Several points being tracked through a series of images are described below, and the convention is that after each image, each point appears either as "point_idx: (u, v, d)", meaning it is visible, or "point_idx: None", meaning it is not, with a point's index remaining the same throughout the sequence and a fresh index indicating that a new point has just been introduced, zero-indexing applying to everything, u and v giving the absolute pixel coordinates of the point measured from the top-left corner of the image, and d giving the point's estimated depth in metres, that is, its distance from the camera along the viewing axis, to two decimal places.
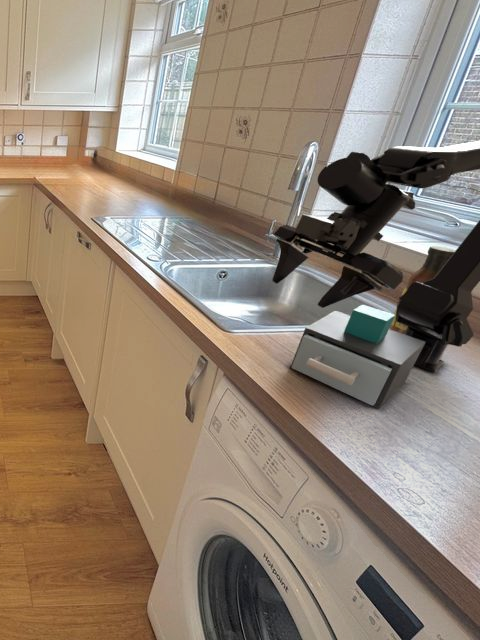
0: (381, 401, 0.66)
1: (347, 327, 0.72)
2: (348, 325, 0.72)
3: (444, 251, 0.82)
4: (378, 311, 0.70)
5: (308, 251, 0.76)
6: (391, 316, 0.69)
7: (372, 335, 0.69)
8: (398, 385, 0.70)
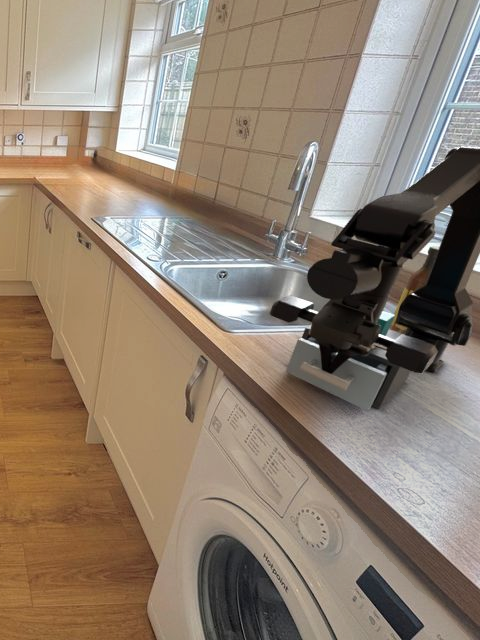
0: (381, 401, 0.66)
1: None
2: None
3: None
4: None
5: None
6: (391, 316, 0.69)
7: None
8: (398, 385, 0.70)
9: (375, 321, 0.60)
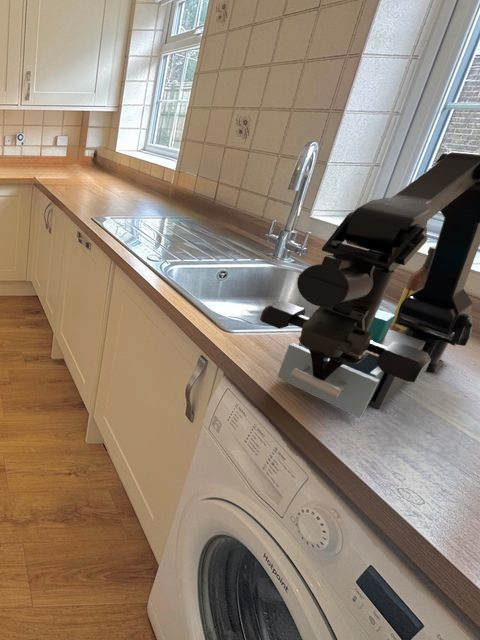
0: (381, 401, 0.66)
1: None
2: None
3: None
4: (378, 311, 0.70)
5: None
6: (391, 316, 0.69)
7: (372, 335, 0.69)
8: (398, 385, 0.70)
9: (367, 328, 0.58)
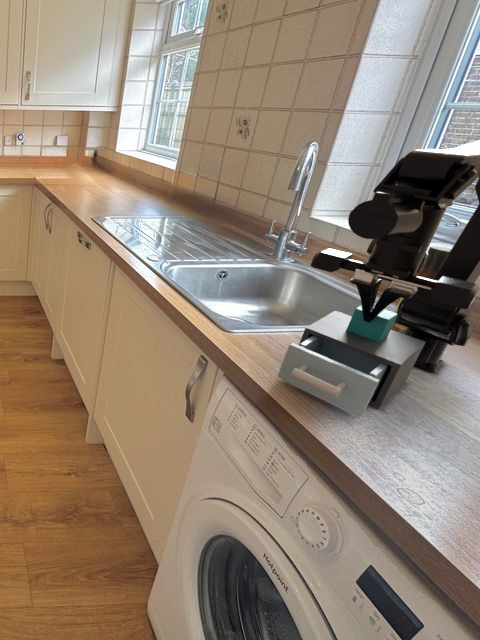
0: (381, 401, 0.66)
1: (349, 325, 0.72)
2: (350, 323, 0.72)
3: (444, 251, 0.82)
4: None
5: None
6: (394, 315, 0.69)
7: (374, 334, 0.69)
8: (398, 385, 0.70)
9: None
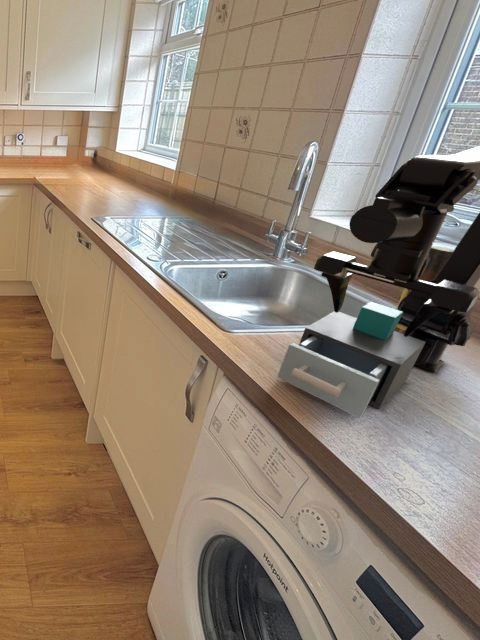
0: (381, 401, 0.66)
1: (356, 324, 0.73)
2: (357, 322, 0.73)
3: (444, 251, 0.82)
4: (386, 308, 0.72)
5: None
6: (399, 313, 0.70)
7: (381, 332, 0.70)
8: (398, 385, 0.70)
9: None
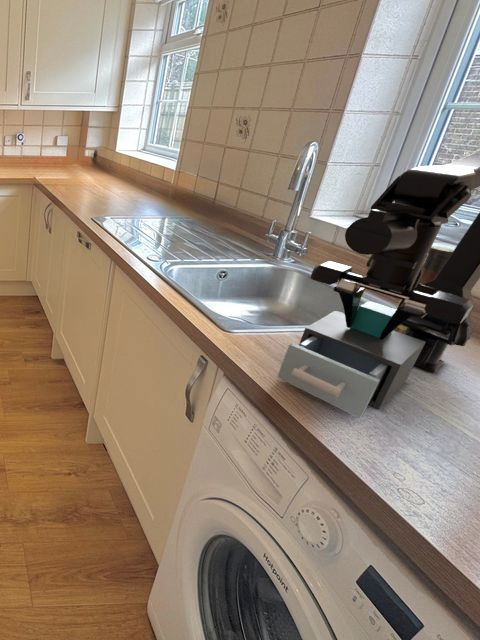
0: (381, 401, 0.66)
1: (353, 323, 0.73)
2: (354, 321, 0.73)
3: (444, 251, 0.82)
4: (384, 307, 0.72)
5: None
6: None
7: (378, 330, 0.70)
8: (398, 385, 0.70)
9: None
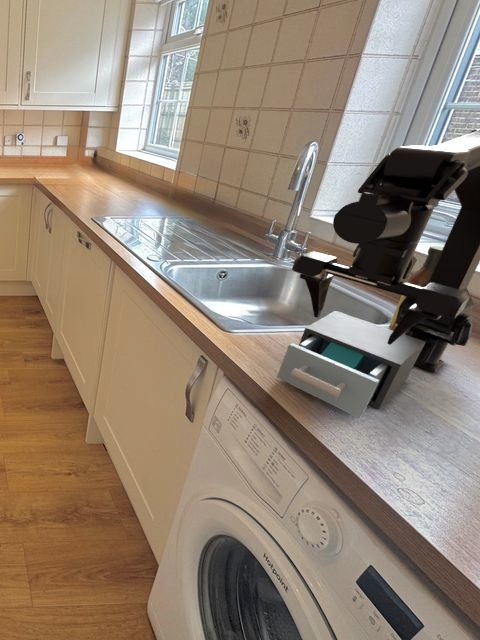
0: (381, 401, 0.66)
1: None
2: None
3: None
4: (345, 353, 0.68)
5: None
6: (358, 359, 0.67)
7: None
8: (398, 385, 0.70)
9: None
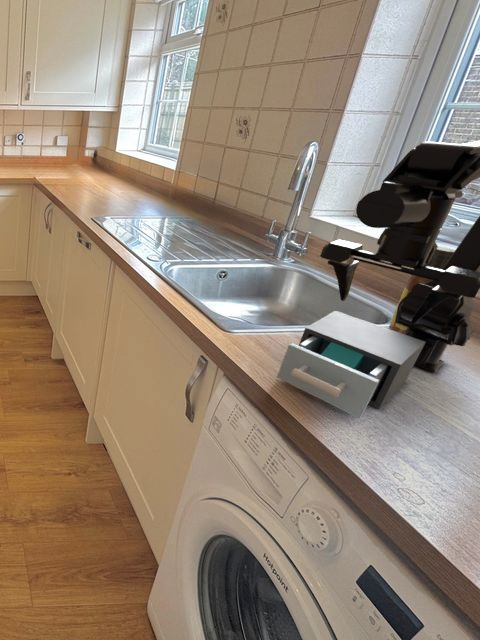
0: (381, 401, 0.66)
1: None
2: None
3: (444, 251, 0.82)
4: (345, 353, 0.68)
5: None
6: (358, 359, 0.67)
7: None
8: (398, 385, 0.70)
9: None
